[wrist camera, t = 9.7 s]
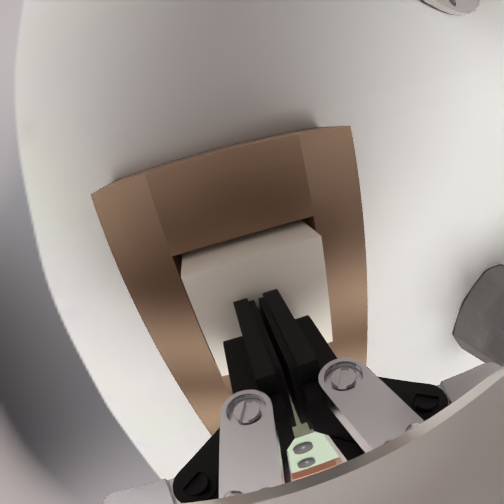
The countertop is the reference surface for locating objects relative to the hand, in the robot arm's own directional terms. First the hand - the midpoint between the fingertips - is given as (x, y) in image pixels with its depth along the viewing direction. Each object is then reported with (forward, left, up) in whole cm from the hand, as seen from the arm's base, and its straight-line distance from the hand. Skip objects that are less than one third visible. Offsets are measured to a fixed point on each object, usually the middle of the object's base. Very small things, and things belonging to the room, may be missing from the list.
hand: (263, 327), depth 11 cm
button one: (0, 0, -3) cm, 3 cm away
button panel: (+10, 0, -5) cm, 11 cm away
